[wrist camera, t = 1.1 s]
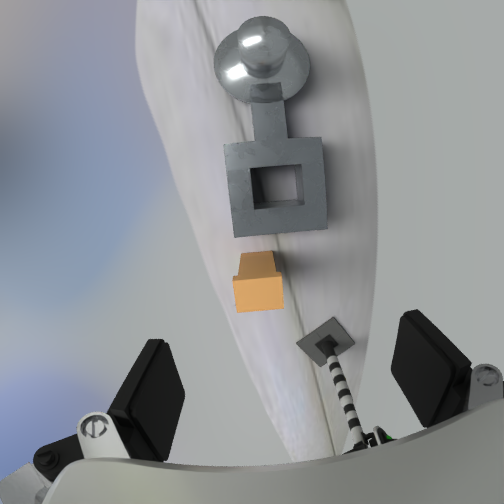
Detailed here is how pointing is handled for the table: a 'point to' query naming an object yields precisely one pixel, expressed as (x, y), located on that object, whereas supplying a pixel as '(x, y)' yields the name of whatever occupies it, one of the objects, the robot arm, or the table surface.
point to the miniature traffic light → (340, 377)
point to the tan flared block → (258, 283)
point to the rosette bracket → (270, 128)
